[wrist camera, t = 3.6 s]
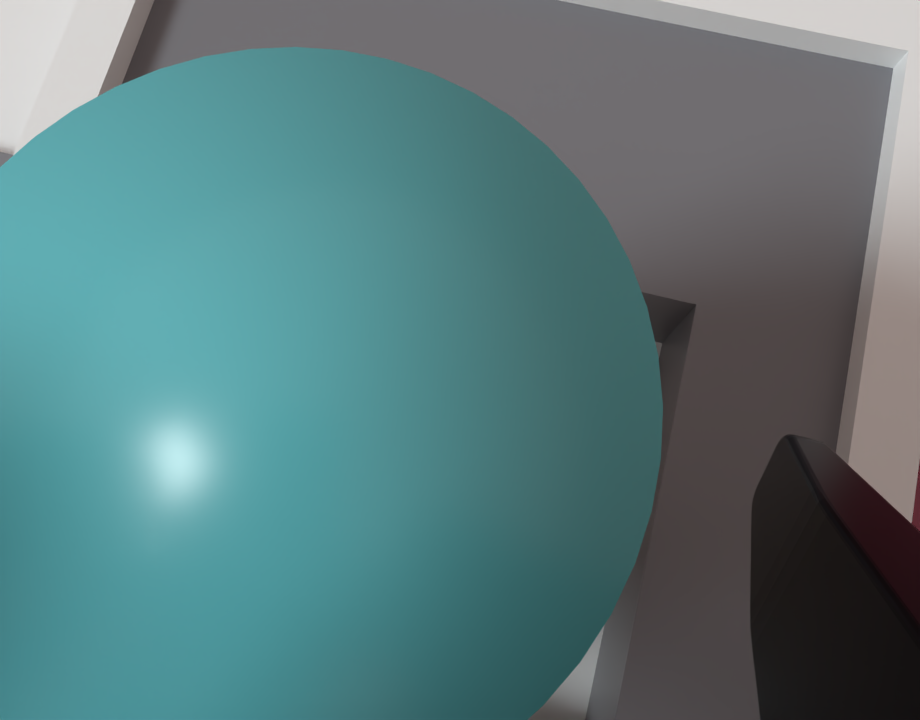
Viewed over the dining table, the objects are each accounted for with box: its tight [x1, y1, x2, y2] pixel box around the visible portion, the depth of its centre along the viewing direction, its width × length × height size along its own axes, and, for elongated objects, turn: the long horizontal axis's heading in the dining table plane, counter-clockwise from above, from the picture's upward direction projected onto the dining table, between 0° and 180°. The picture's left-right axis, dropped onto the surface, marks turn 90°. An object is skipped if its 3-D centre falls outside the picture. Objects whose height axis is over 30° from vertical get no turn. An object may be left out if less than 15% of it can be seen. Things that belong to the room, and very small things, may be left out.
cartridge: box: [0, 47, 663, 720], centre depth 10 cm, size 5×5×10 cm
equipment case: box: [0, 0, 920, 720], centre depth 14 cm, size 20×28×4 cm
